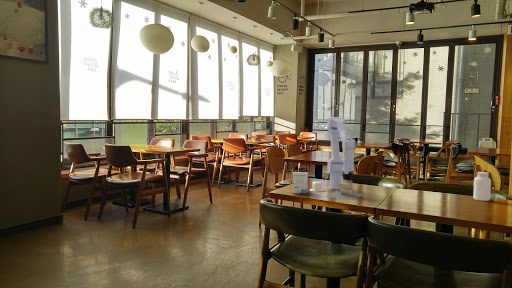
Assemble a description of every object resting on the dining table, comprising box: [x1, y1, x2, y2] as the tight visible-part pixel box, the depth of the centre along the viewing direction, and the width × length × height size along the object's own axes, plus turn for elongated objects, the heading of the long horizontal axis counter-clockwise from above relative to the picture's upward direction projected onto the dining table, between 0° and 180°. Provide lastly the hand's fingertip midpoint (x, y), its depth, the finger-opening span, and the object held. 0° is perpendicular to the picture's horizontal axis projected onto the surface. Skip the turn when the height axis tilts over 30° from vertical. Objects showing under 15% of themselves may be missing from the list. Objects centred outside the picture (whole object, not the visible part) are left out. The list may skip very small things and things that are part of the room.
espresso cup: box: [309, 181, 325, 192], centre depth 231 cm, size 9×9×5 cm
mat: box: [324, 190, 364, 201], centre depth 216 cm, size 20×16×1 cm
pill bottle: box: [472, 171, 492, 202], centre depth 212 cm, size 8×8×15 cm
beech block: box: [339, 179, 354, 195], centre depth 217 cm, size 4×6×7 cm, turn 60°
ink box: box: [292, 171, 309, 195], centre depth 223 cm, size 9×5×12 cm, turn 84°
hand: (347, 185), depth 219 cm, fingers closed
